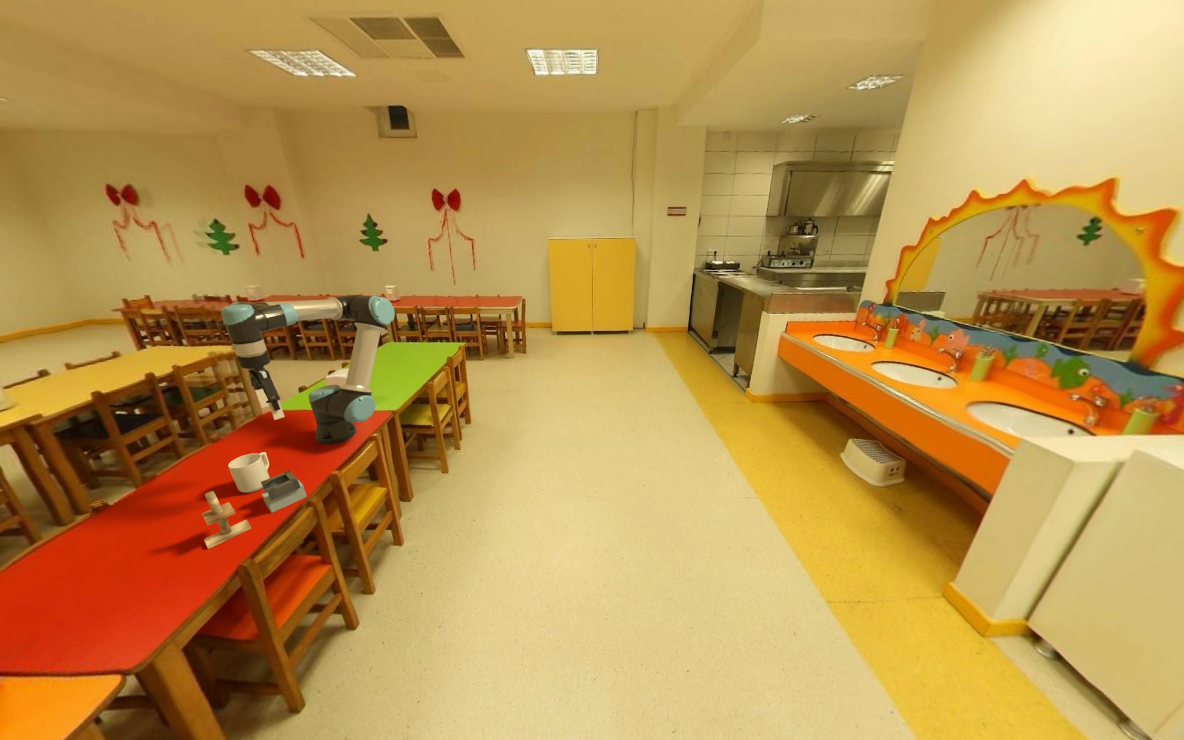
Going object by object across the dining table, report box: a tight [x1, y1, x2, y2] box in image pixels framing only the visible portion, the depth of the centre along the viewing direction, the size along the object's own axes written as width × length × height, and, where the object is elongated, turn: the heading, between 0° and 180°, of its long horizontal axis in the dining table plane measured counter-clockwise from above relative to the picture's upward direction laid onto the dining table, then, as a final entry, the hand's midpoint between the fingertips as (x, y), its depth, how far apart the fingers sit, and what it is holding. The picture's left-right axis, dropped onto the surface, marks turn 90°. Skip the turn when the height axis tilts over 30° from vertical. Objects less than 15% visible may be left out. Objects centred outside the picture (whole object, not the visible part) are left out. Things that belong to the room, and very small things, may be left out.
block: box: [261, 479, 308, 513], centre depth 129 cm, size 10×6×5 cm, turn 143°
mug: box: [228, 451, 271, 494], centre depth 136 cm, size 12×9×11 cm
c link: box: [261, 470, 300, 500], centre depth 127 cm, size 8×8×4 cm
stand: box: [201, 490, 252, 550], centre depth 113 cm, size 10×6×16 cm, turn 143°
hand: (272, 412), depth 129 cm, fingers open, 13 cm apart
